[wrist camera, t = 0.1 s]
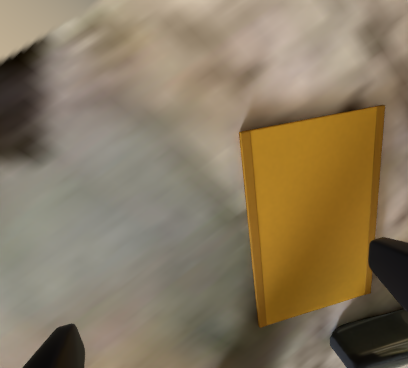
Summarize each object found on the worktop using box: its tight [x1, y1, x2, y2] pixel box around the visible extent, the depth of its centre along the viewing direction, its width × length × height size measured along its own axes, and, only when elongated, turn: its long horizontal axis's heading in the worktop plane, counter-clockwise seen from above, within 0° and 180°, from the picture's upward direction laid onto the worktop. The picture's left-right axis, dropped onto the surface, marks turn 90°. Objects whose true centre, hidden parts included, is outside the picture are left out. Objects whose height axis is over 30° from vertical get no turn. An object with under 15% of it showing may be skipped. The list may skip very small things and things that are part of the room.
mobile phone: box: [330, 309, 408, 368], centre depth 31 cm, size 5×3×15 cm
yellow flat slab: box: [239, 105, 385, 328], centre depth 26 cm, size 20×13×1 cm, turn 9°
